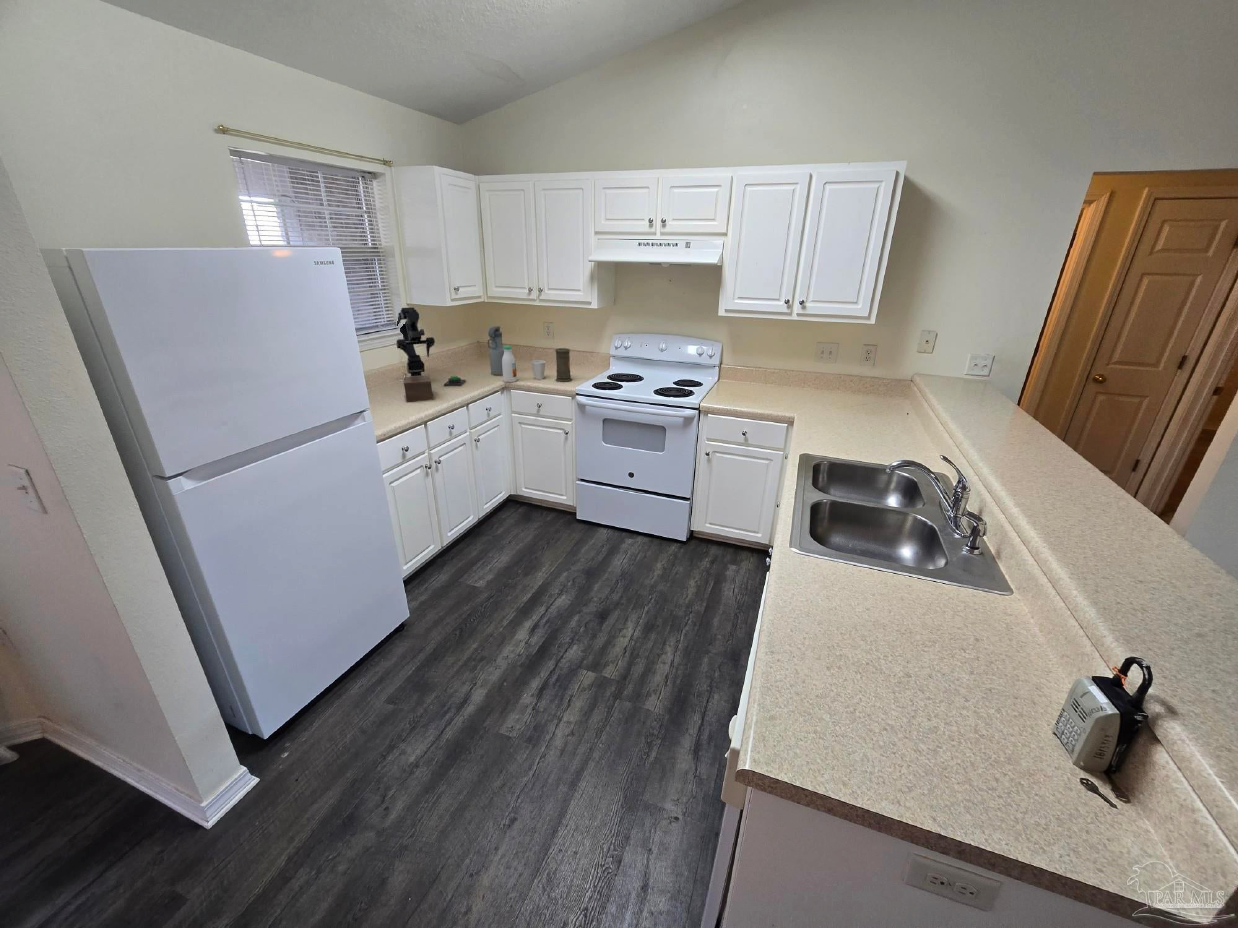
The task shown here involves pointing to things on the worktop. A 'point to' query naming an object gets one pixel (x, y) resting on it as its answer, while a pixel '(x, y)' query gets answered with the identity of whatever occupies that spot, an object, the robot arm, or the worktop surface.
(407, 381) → the brown block
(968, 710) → the worktop surface
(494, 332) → the water bottle
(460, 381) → the control block
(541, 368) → the dixie cup
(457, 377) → the button
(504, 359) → the milk bottle
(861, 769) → the worktop surface
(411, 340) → the robot arm
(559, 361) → the container
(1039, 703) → the worktop surface
